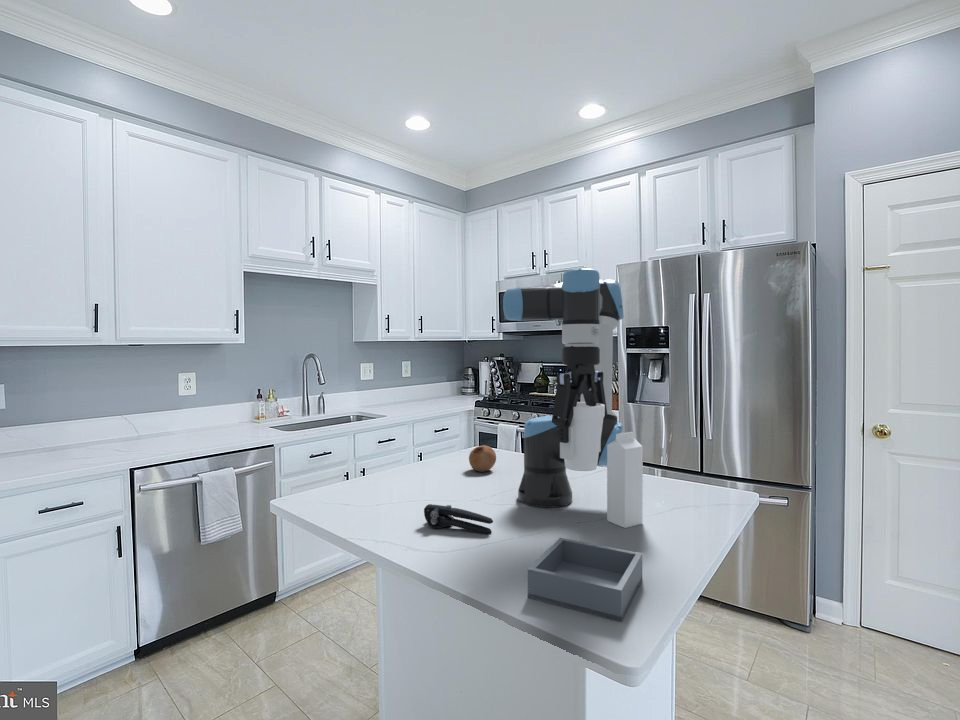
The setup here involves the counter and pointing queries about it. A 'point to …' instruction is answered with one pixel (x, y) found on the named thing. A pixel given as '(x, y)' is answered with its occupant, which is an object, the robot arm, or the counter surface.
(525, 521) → the counter surface
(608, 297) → the robot arm
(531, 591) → the bin
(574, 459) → the foam cup
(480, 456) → the onion
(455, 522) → the can opener
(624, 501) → the pale carton
